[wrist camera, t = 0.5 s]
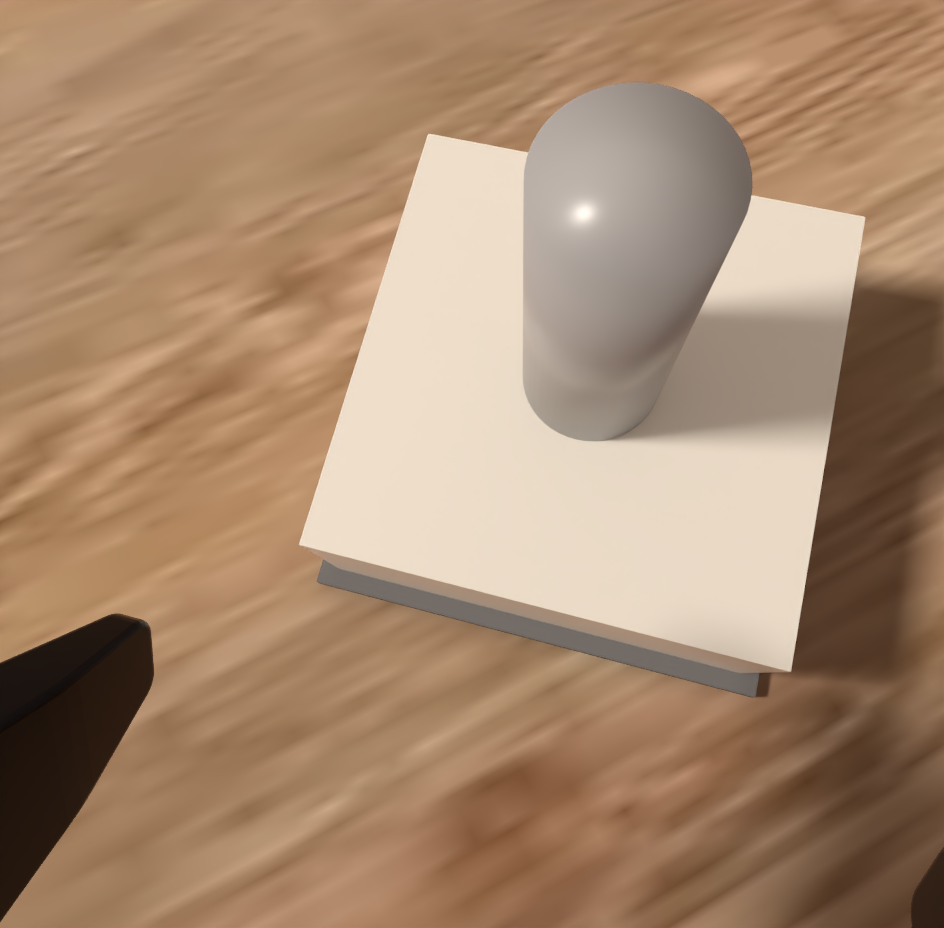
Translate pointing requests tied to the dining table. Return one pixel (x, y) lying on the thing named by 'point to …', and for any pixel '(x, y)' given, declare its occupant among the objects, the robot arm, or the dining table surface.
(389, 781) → the dining table surface
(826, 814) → the dining table surface
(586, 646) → the charcoal rubber mat
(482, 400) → the cream bowl cover
